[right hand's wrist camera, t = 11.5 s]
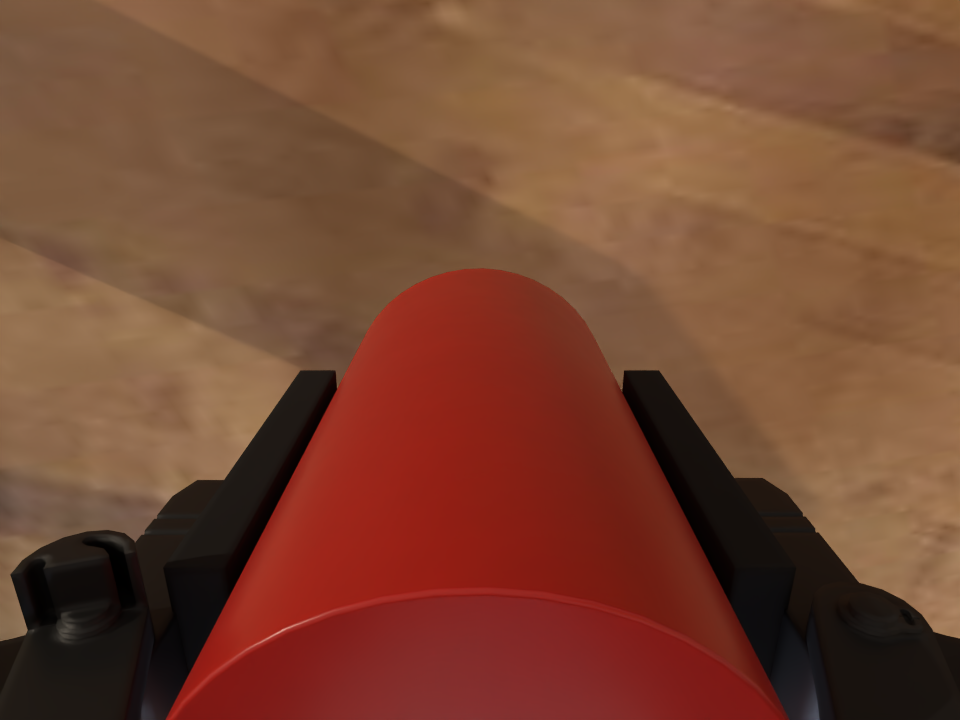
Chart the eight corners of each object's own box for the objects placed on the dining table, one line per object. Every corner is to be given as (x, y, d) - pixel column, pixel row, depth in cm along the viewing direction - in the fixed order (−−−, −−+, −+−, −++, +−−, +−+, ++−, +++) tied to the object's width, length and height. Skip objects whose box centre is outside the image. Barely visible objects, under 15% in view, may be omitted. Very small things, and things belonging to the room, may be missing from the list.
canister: (622, 472, 17) (836, 1010, 7) (393, 518, 18) (272, 1085, 7) (580, 240, 15) (801, 519, 5) (320, 301, 15) (4, 672, 5)
